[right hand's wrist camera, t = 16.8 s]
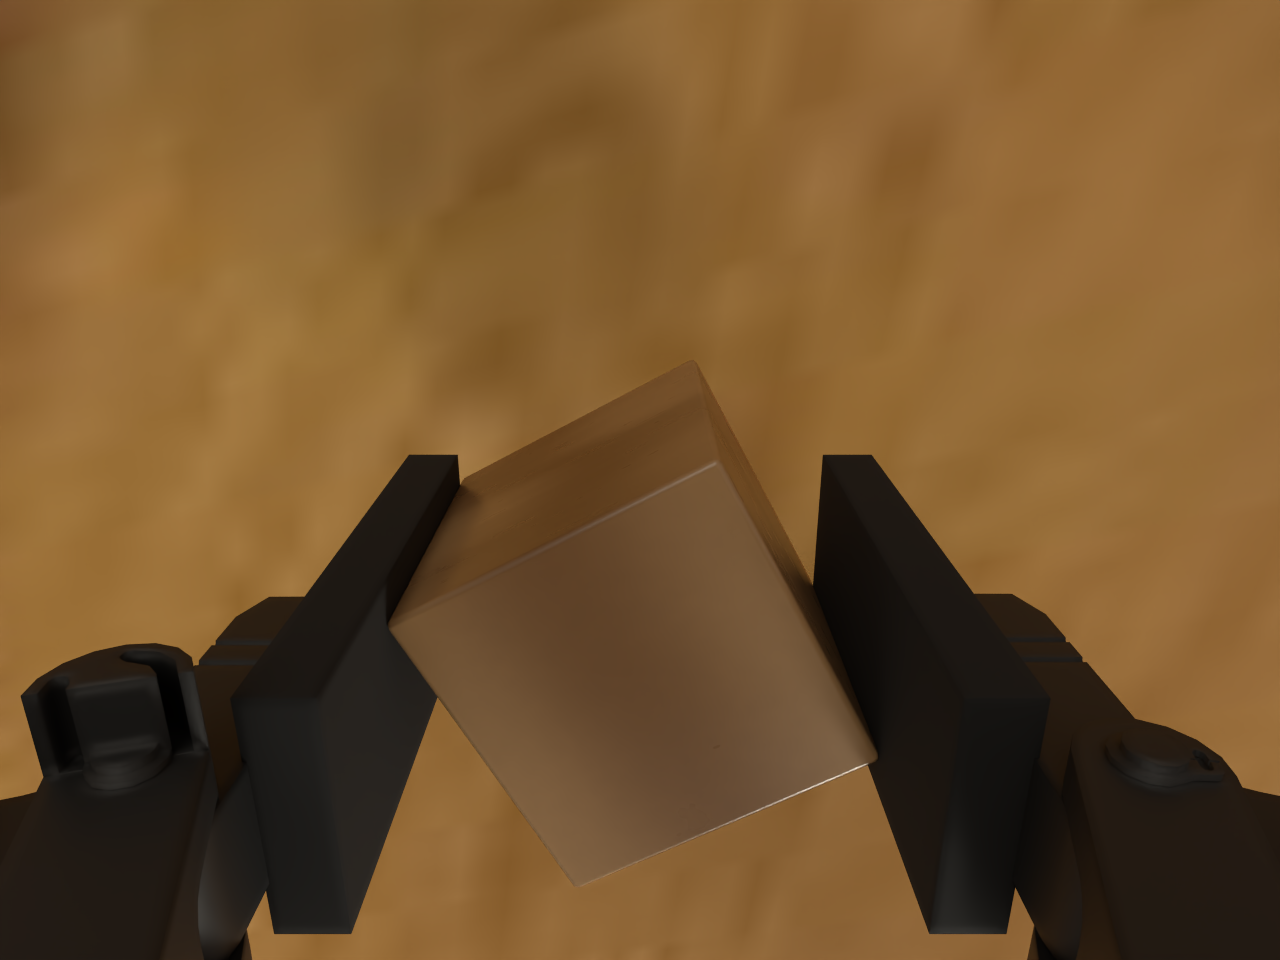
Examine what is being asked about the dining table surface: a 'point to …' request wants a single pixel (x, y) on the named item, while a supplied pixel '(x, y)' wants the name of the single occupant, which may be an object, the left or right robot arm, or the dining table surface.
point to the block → (631, 633)
